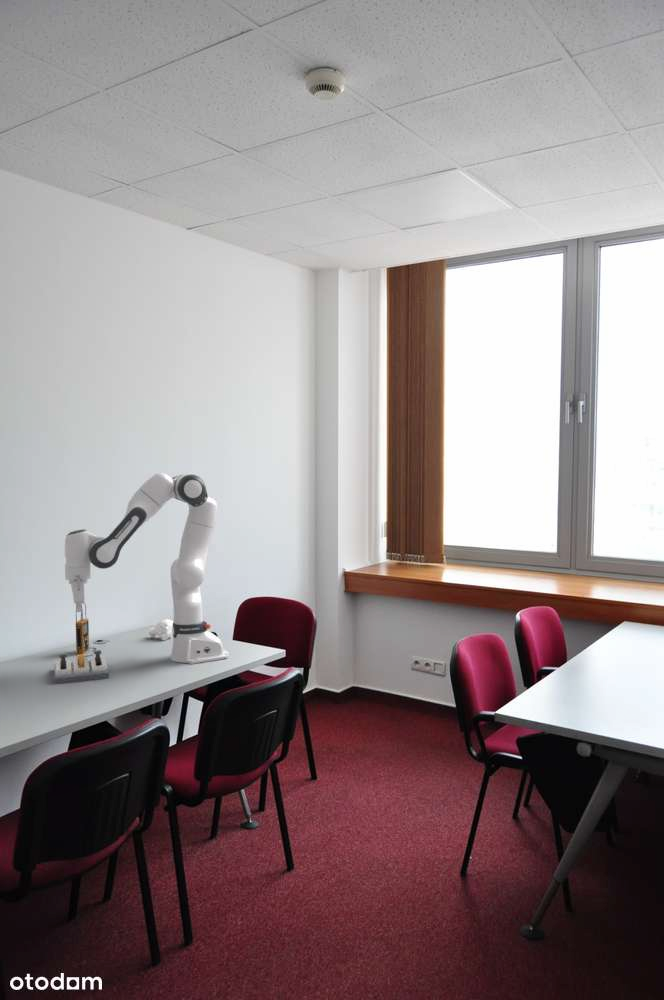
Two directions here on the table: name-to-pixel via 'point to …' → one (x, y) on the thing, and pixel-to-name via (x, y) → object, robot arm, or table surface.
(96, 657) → the black breaker near arm
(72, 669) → the breaker board
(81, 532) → the robot arm
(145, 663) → the table surface
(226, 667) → the table surface
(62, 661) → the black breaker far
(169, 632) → the white crumpled lump
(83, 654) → the orange breaker
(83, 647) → the multimeter
